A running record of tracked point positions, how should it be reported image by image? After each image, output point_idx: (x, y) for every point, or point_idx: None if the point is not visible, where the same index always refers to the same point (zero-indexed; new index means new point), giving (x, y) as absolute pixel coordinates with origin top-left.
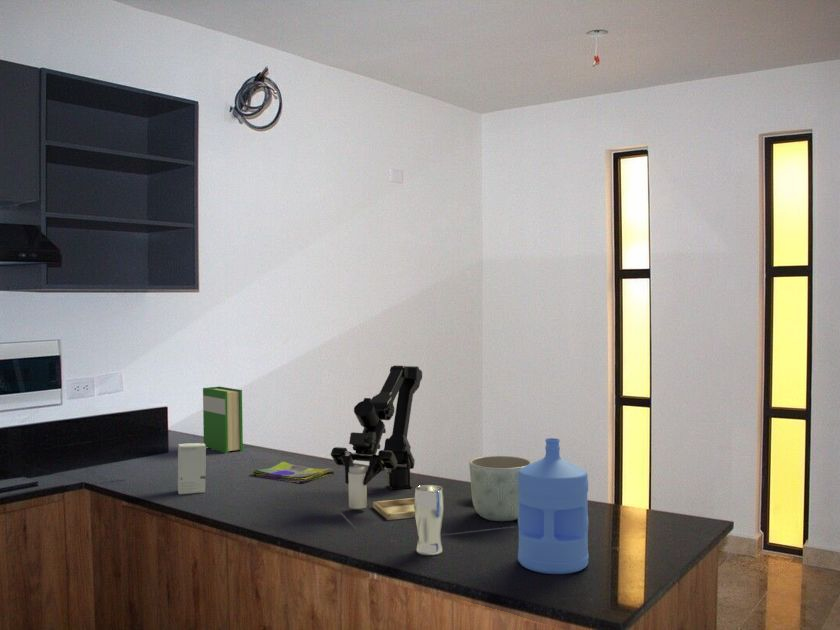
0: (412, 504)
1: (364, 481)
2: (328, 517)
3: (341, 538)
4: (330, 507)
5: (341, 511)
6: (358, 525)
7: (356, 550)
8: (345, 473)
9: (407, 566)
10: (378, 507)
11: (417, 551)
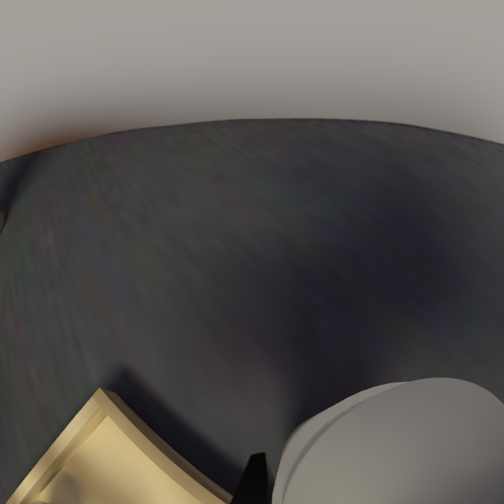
0: None
1: (254, 463)
2: (381, 314)
3: (172, 178)
4: None
5: None
6: (194, 297)
7: (105, 154)
8: None
9: (19, 164)
10: (213, 492)
11: (3, 210)
